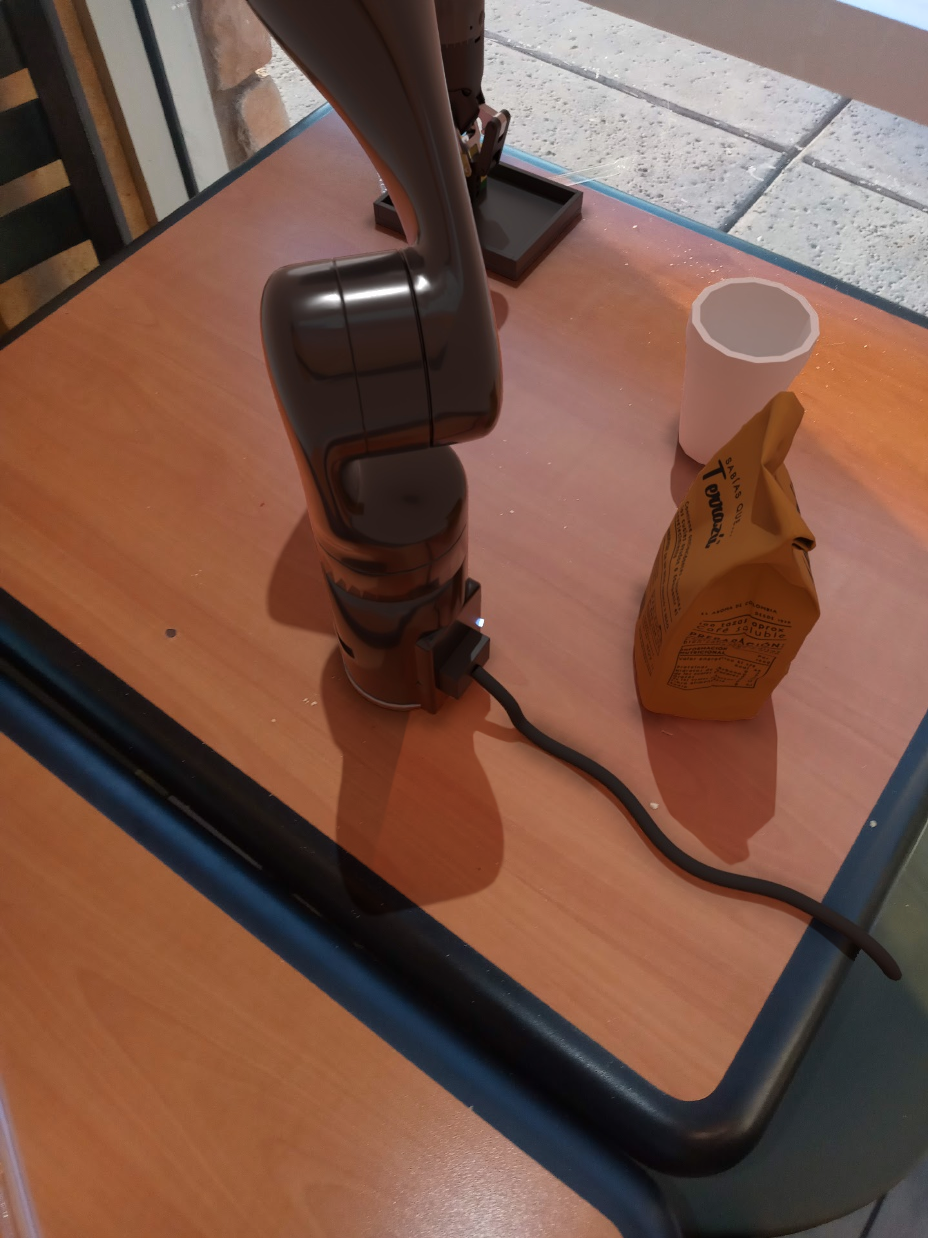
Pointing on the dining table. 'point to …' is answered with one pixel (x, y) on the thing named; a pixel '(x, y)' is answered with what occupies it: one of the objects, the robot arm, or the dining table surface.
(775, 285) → the foam cup
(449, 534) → the robot arm
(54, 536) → the dining table surface
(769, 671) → the coffee package
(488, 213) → the tray
